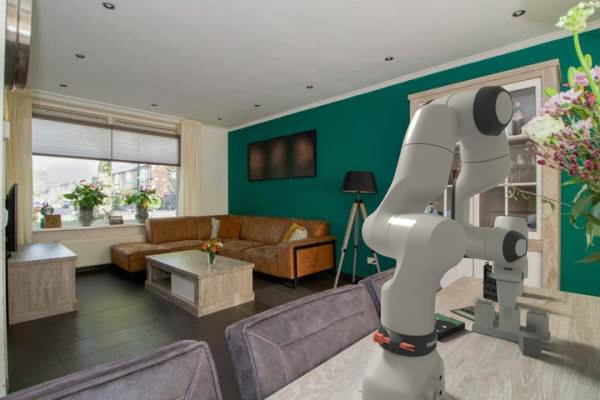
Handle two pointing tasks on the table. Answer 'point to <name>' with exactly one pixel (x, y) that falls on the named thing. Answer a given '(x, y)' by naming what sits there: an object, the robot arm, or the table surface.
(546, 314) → the rail
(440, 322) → the disk drive
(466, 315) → the calculator
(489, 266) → the geiger counter
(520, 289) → the medicine bottle
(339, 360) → the table surface
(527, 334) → the block
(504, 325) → the block
